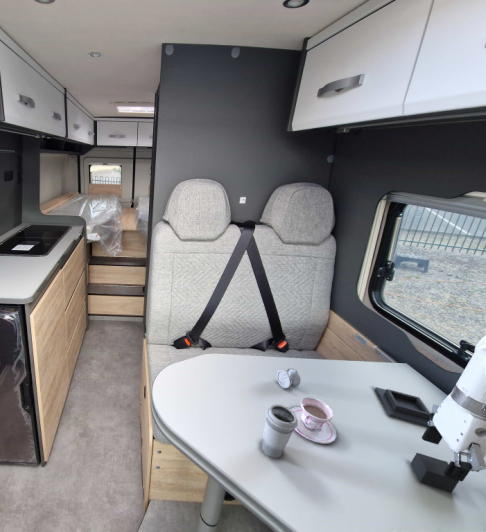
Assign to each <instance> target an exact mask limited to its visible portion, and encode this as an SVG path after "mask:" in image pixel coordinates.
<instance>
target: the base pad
mask: <svg viewBox="0 0 486 532" xmlns="http://www.w3.org/2000/svg"><path fill="white" fill-rule="evenodd" d="M374 390H375V393H376V394H377V396H378V398H379V400H380V401H381V403H382V405H383V407H384V409H385V411H386V413H387V415H388V416H389V417H392V418H394V419H398V420H402V421H405V422H408V423H412V424H415V425H420V426H423V427H426V428H427V427H428V426H429V425H428V421H430V414H431V412H430V411H429V409H428V408H427V406H426V405H425V403H424V402H423V400H422V399H421V398H420V397H419V396H416V395H413V394H408V393H405V392H401V391H396V390H393V389H389V388H386V389H385V388H381V387H376V386H375V388H374ZM429 427H430V426H429Z"/></svg>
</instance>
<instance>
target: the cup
mask: <svg viewBox="0 0 486 532" xmlns="http://www.w3.org/2000/svg"><path fill="white" fill-rule="evenodd" d="M291 409H292V408H289V407H288V406H285V405H283V404H277V403H276V404H273V405H271V406H270V407H268V408H267V409H266V412H265V415H266V420H265V424H264V429H263V434H262V442H261V449H262V451H263V453H264V454H265V455H266V456H268V457H270V458H272V459H279V458H281V456H282V455H283V452H284V450H285V449H286V447H287V445H288V443H289V441H290V438H291V437H292V434H293V433H294V430H295V428H296V427H297V425H298V421H297V417H296V415H295V413H294V412H293V411H292V410H291Z"/></svg>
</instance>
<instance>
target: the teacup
mask: <svg viewBox="0 0 486 532" xmlns="http://www.w3.org/2000/svg"><path fill="white" fill-rule="evenodd" d="M290 409H291V410H292V411H293V412H294V413H295V415H296V417H297V421H298V425H297V427H296V428H295V429H294V430H295V432H296V433H298V434H299V435H300V436H302V437H303V438H305V439H307V440H308V441H311V442H314V443H316V444H321V445H326V444H332V443H333V442H335V440H336V438H337V430H336V429H335V427H334V425H333V424H332V422H330V421H331V420H332V419H333V417H334V411H333V409H332V407H331V406H330V405H329V404H328V403H327V402H325V401H324V400H322V399H320V398H318V397H314V396H313V397H312V396H306V397H303V398H302V399H301V400H300V406H296V407H292V408H290ZM313 430H319V431H317V432H315V431H313Z"/></svg>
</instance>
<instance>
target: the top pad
mask: <svg viewBox="0 0 486 532" xmlns="http://www.w3.org/2000/svg"><path fill="white" fill-rule="evenodd" d="M448 465H449V463H448V461H445V460H442V459H439V458H437V457H433V456H430V455H426V454H424V453H420V452H416V453H415V455H414V457H413V458H412V460H411V462H410V466H411V468H412V469H413V473H414V474H415V476H416V477H417V479H418V481H419V483H421V484H424V485H427V486H430V487H433V488H436V489H439V490H443V491H445V492H448V493H451V494H452V493H453V491H454V489H455V488H456V487H457V485H458V484H459V482H460V481H458V480H455V479H452V478H449V477H446V476H445V475H444V471H445V469H446V468H447V466H448Z"/></svg>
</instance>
